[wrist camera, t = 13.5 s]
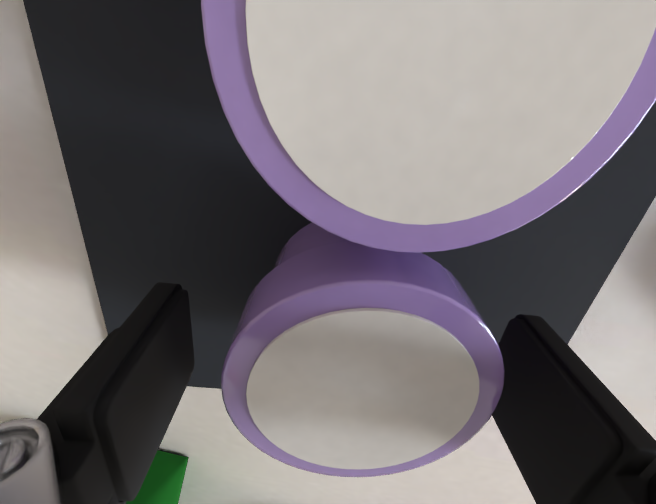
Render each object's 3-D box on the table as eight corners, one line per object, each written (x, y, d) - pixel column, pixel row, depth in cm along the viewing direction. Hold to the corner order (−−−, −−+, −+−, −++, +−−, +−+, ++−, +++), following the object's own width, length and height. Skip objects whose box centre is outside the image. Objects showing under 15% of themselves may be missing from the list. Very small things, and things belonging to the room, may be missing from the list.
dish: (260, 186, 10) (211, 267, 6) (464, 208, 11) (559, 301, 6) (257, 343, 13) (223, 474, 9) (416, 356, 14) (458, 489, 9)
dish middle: (267, -141, 7) (167, -495, 3) (561, -93, 7) (903, -340, 3) (261, 166, 10) (209, 237, 6) (470, 190, 10) (573, 273, 6)
